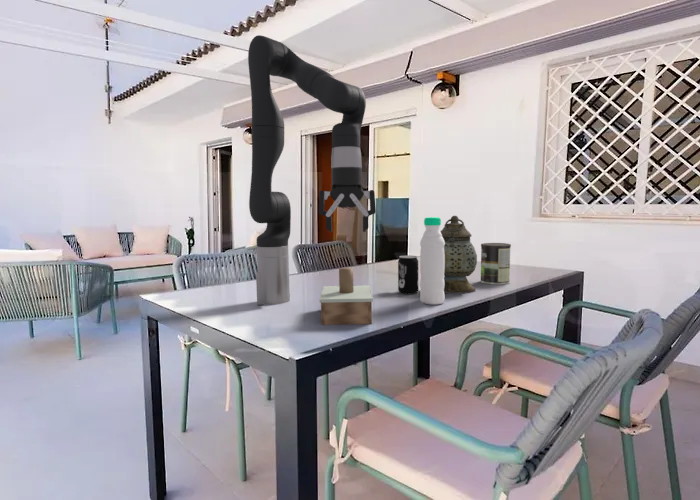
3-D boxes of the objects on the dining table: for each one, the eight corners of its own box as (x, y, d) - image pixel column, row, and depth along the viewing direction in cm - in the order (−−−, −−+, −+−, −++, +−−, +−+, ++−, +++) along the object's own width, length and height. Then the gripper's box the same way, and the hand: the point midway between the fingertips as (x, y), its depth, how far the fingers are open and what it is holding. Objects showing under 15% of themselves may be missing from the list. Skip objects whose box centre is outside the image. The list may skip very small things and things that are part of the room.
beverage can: (417, 294, 136) (417, 257, 135) (397, 294, 138) (397, 257, 136) (418, 290, 143) (418, 255, 142) (399, 290, 144) (399, 255, 143)
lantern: (485, 290, 141) (486, 215, 139) (456, 296, 133) (456, 216, 131) (453, 284, 153) (453, 214, 150) (424, 289, 145) (424, 215, 142)
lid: (319, 306, 101) (318, 274, 100) (324, 292, 117) (323, 264, 116) (372, 305, 101) (372, 273, 100) (369, 291, 117) (369, 263, 116)
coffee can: (482, 284, 152) (483, 245, 150) (478, 279, 162) (478, 242, 160) (513, 285, 150) (514, 245, 149) (506, 280, 160) (507, 242, 159)
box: (321, 327, 101) (320, 302, 101) (325, 310, 117) (324, 289, 117) (371, 326, 101) (371, 301, 101) (368, 310, 117) (368, 288, 117)
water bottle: (439, 306, 120) (439, 217, 118) (416, 303, 124) (416, 217, 122) (447, 301, 126) (448, 216, 124) (425, 298, 130) (425, 217, 128)
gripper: (316, 165, 102) (318, 233, 104) (376, 165, 102) (376, 232, 104) (318, 168, 110) (320, 231, 111) (374, 167, 110) (374, 230, 111)
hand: (347, 231), depth 108 cm, fingers open, 8 cm apart
